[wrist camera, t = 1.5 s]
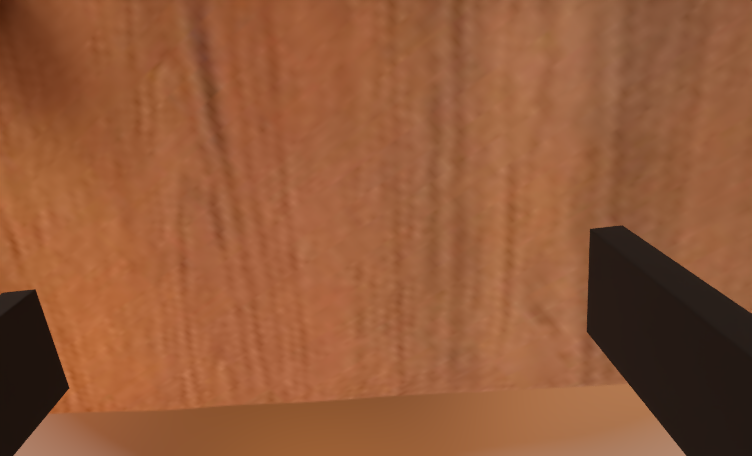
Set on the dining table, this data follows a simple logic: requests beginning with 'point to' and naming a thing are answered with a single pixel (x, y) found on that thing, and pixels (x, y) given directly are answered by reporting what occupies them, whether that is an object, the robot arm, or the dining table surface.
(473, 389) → the dining table surface
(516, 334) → the dining table surface
